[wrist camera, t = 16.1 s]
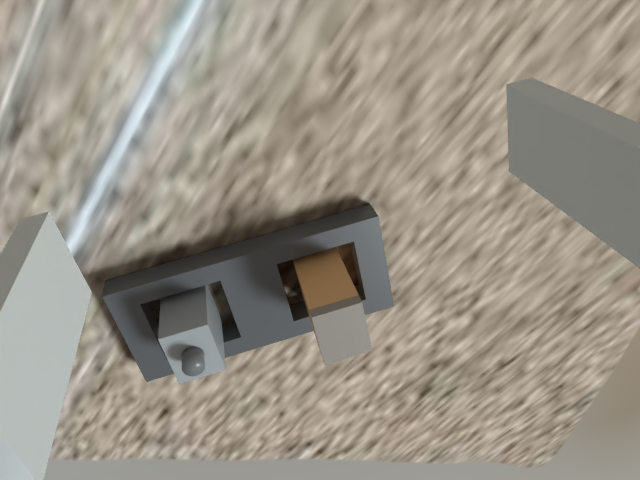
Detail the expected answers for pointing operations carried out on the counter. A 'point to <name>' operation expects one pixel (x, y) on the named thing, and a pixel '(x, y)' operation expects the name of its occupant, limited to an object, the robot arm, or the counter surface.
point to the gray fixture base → (237, 295)
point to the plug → (332, 305)
